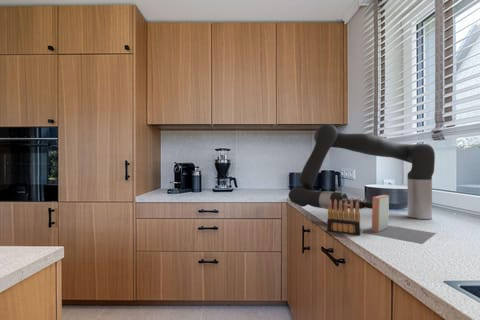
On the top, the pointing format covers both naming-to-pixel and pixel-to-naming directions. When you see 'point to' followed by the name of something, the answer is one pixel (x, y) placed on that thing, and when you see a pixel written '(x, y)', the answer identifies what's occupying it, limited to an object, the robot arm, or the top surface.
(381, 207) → the tile
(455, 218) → the top surface
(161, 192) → the top surface
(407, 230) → the mat
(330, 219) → the ammunition clip
